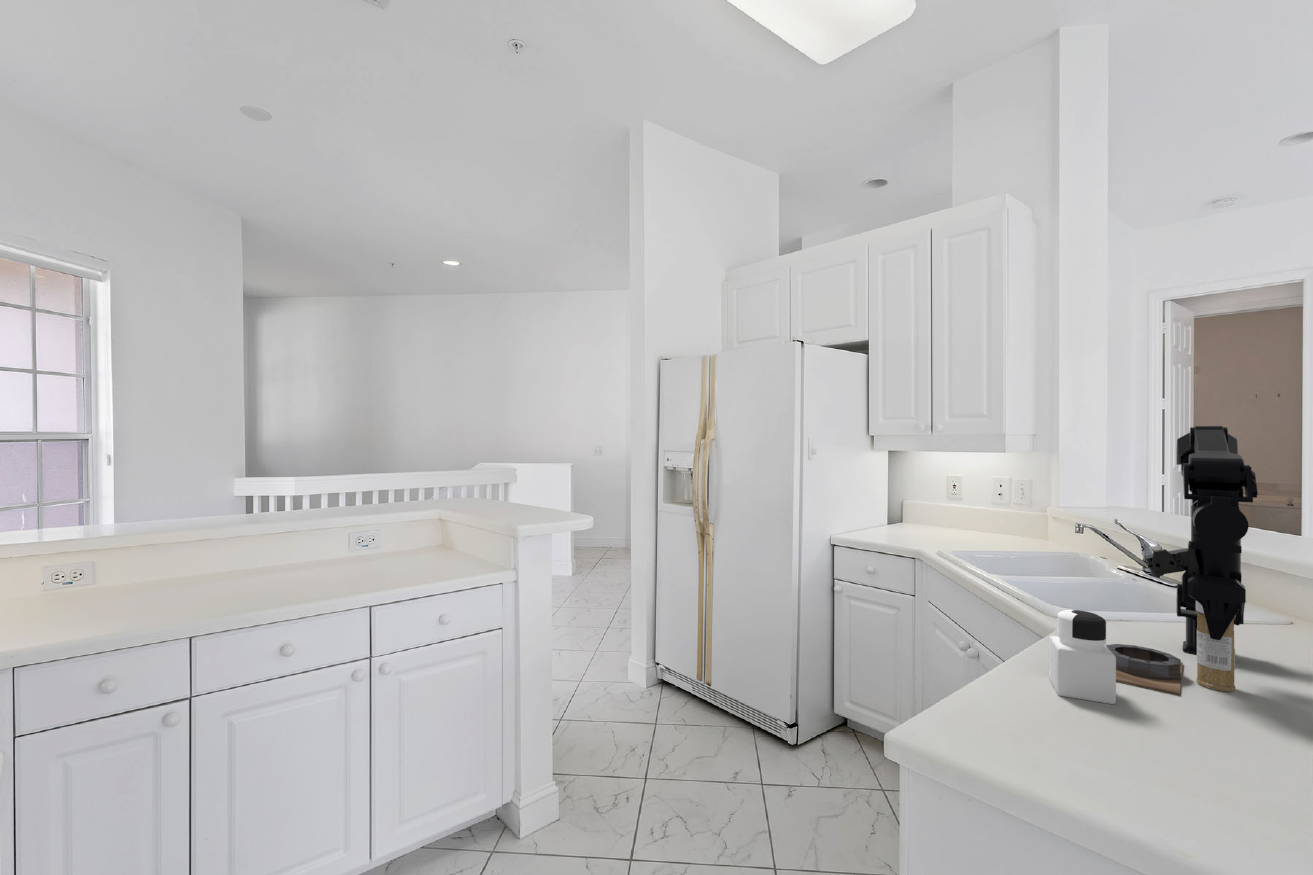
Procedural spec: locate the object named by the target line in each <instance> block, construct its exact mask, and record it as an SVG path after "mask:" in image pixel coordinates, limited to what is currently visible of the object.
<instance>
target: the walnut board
mask: <svg viewBox="0 0 1313 875" xmlns="http://www.w3.org/2000/svg"><path fill="white" fill-rule="evenodd" d="M1183 667H1184V663H1183V662H1182V661H1181V675H1180V679H1175V680H1158V679H1148V678H1144V677H1139V676H1135V675H1130V674H1127V673H1124V672H1121V671H1118V670H1116V683H1117V682H1118V683H1122V684H1125V685H1130V686H1135V687H1139V688H1142V689H1148V690H1152V691H1156V692H1157V691H1158V692H1161V693H1165V694H1169V695H1173V696H1177V697H1178V696H1180V691H1181V685H1182V684H1181V683H1182V674H1183Z"/></svg>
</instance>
